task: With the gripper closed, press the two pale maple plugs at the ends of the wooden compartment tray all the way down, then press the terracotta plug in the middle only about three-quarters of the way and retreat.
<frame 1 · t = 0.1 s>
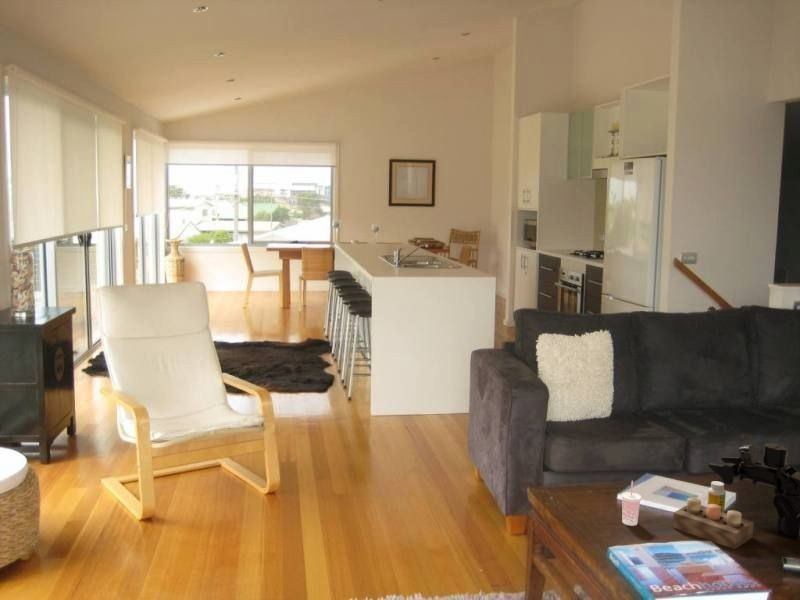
hand: (715, 461, 266), 17 cm above the table, tool horizontal, fingers open, 9 cm apart
maple plug near: (733, 520, 245), point 6 cm above the table, slide at 0.0 cm
terracotta plug: (713, 514, 250), point 6 cm above the table, slide at 0.0 cm
wooden compartment tray: (711, 532, 251), on the table
maple plug far: (693, 507, 255), point 6 cm above the table, slide at 0.0 cm
supplement bottle: (715, 511, 267), on the table
beverage cup: (629, 523, 257), on the table
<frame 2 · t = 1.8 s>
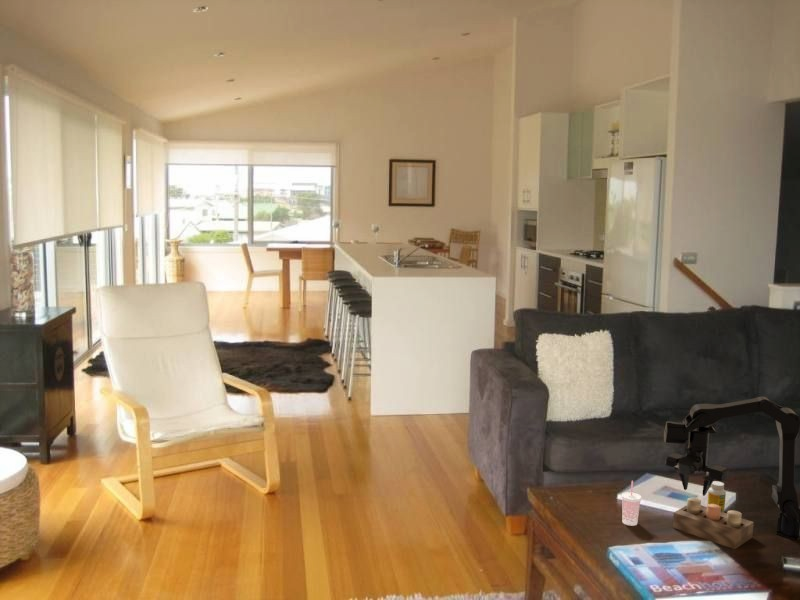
hand: (694, 492, 254), 11 cm above the table, tool pointing down, fingers open, 6 cm apart
nothing on the table moved.
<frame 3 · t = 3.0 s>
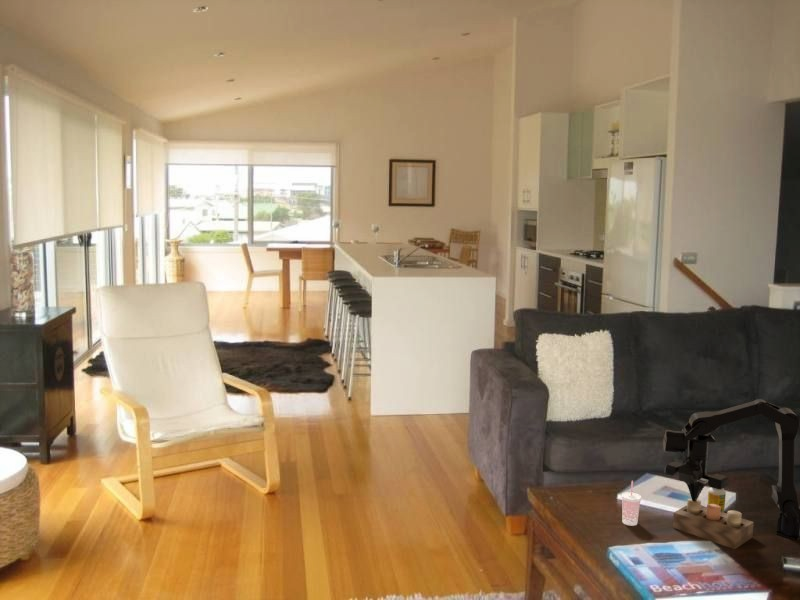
hand: (694, 500, 254), 8 cm above the table, tool pointing down, fingers closed, pressing on maple plug far
maple plug far: (693, 508, 255), point 6 cm above the table, slide at -0.2 cm, touching gripper
everything else where it was.
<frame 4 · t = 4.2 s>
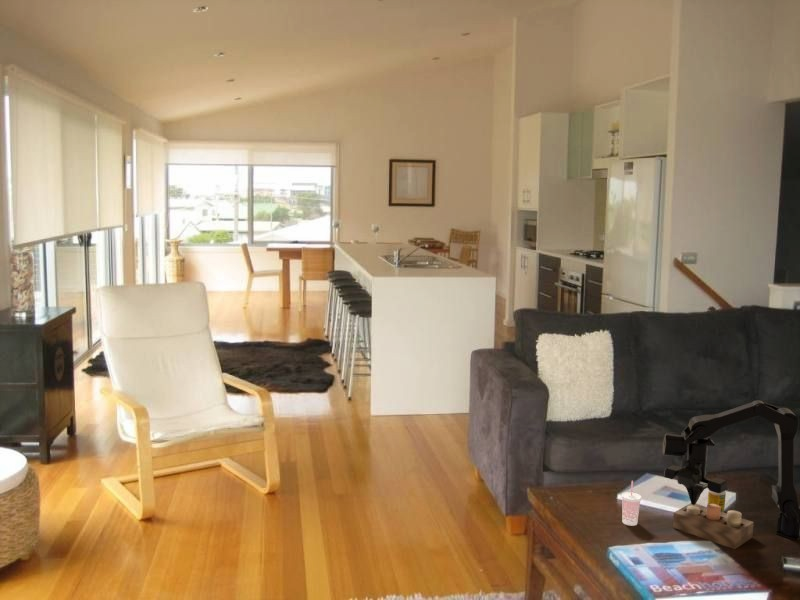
hand: (693, 504, 254), 7 cm above the table, tool pointing down, fingers closed
maple plug far: (693, 515, 255), point 3 cm above the table, slide at -2.7 cm
everything else where it was.
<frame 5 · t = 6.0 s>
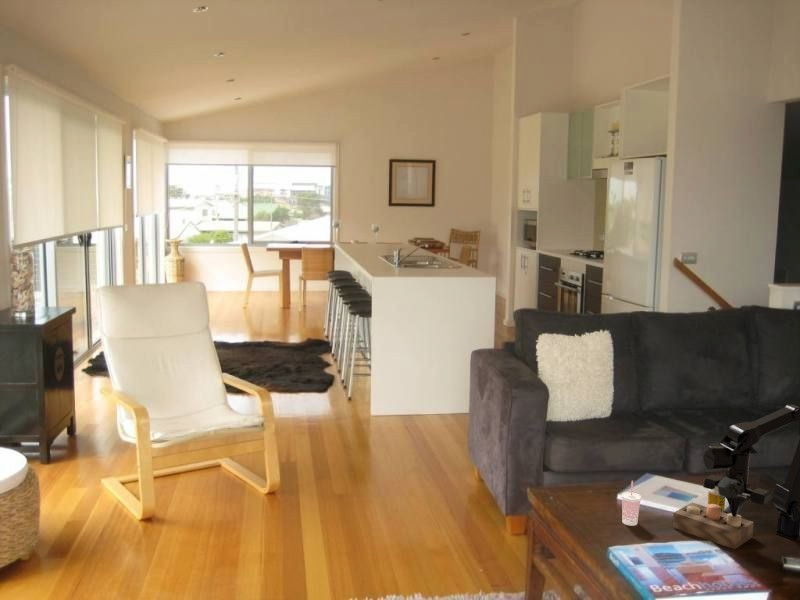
hand: (734, 516, 245), 8 cm above the table, tool pointing down, fingers closed, pressing on maple plug near
maple plug near: (733, 523, 245), point 5 cm above the table, slide at -0.9 cm, touching gripper
everything else where it was.
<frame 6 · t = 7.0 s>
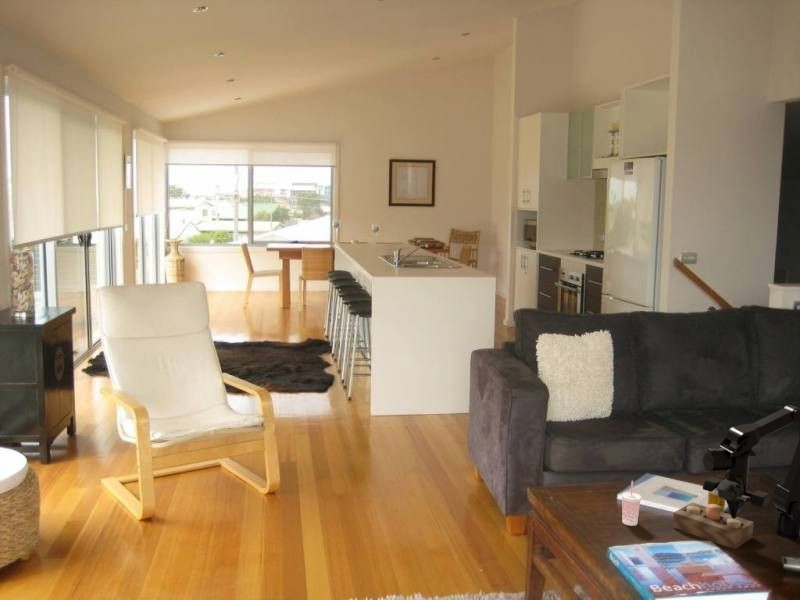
hand: (733, 518, 245), 7 cm above the table, tool pointing down, fingers closed
maple plug near: (733, 529, 246), point 3 cm above the table, slide at -2.7 cm
everything else where it was.
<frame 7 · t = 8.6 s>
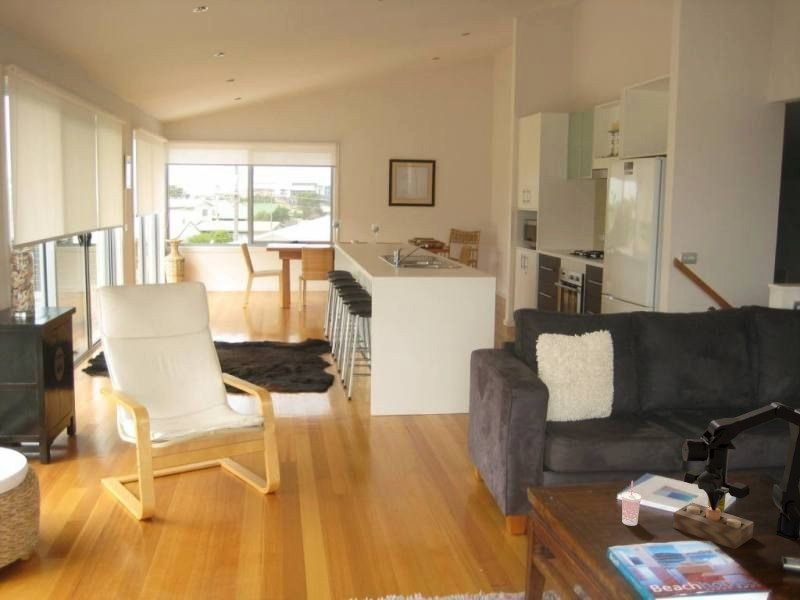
hand: (713, 509, 250), 7 cm above the table, tool pointing down, fingers closed, pressing on terracotta plug
terracotta plug: (713, 517, 250), point 5 cm above the table, slide at -1.1 cm, touching gripper
everything else where it was.
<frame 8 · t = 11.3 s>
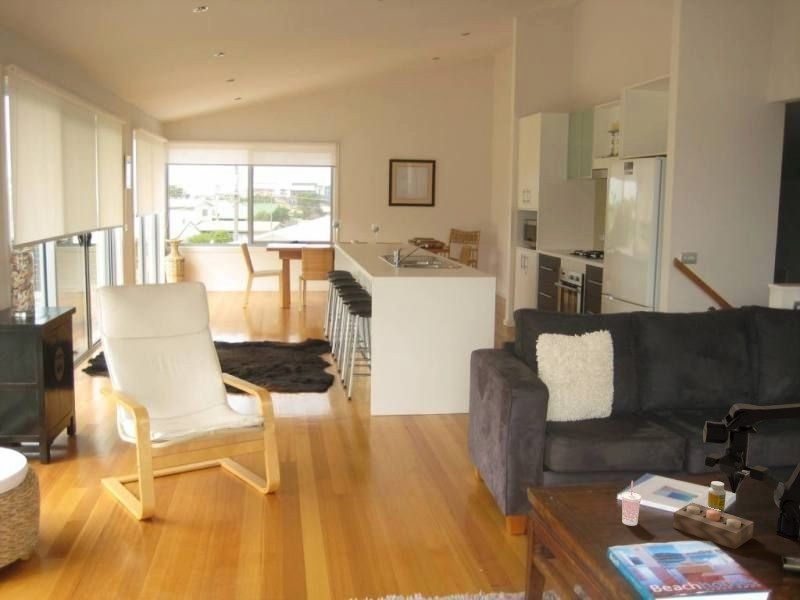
hand: (734, 492, 252), 12 cm above the table, tool pointing down, fingers closed
terracotta plug: (712, 519, 250), point 4 cm above the table, slide at -1.9 cm
everything else where it was.
at the end: maple plug far slide at -2.7 cm; maple plug near slide at -2.7 cm; terracotta plug slide at -1.9 cm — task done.
